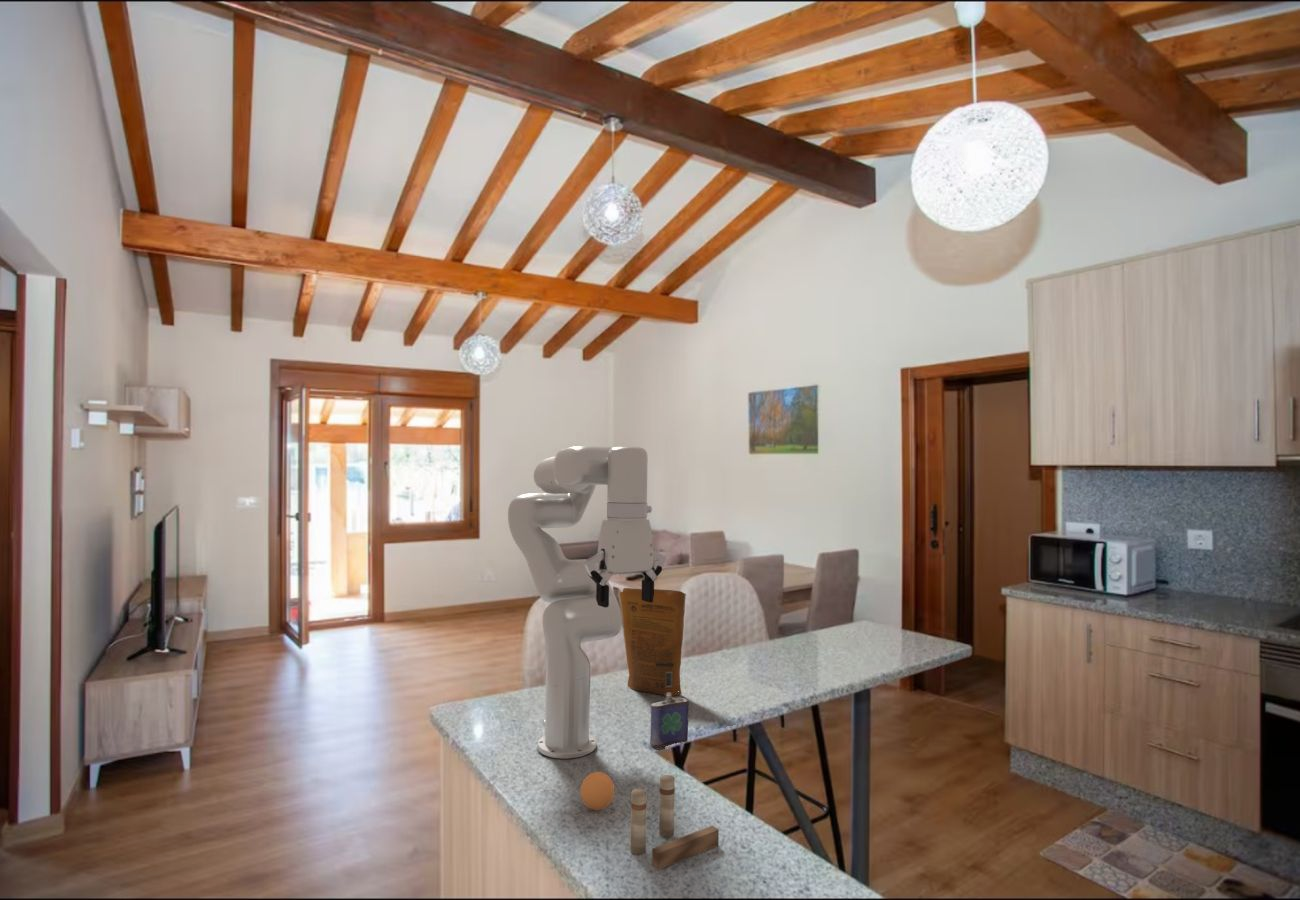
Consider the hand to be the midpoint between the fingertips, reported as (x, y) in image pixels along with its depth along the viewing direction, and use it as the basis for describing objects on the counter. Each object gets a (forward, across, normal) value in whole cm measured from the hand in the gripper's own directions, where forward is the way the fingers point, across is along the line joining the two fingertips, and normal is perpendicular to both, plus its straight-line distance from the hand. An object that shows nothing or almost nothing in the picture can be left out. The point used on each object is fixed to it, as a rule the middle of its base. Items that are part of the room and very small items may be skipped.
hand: (625, 603), depth 125 cm
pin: (+35, +1, +16) cm, 38 cm away
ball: (+32, +7, +3) cm, 33 cm away
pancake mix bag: (+35, -36, -45) cm, 68 cm away
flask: (+35, -20, -15) cm, 43 cm away
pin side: (+35, +8, +18) cm, 40 cm away
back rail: (+35, +2, +23) cm, 42 cm away
